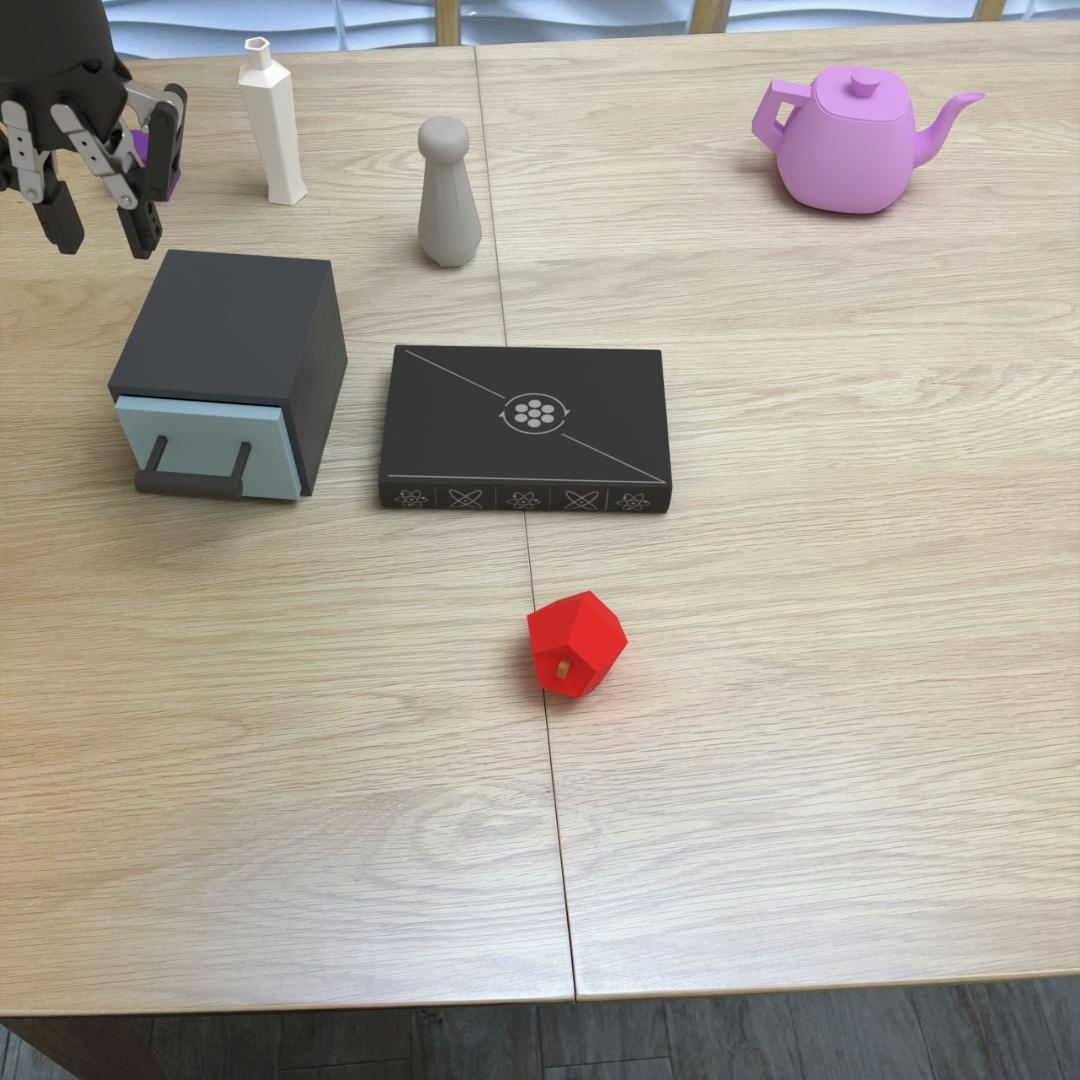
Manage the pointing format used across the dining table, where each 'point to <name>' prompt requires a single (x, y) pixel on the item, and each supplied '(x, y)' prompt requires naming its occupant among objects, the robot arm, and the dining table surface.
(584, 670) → the apple
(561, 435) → the book
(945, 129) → the teapot
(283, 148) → the white tall faceted bottle
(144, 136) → the block
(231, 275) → the dark grey cabinet
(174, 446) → the drawer
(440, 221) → the salt shaker
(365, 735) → the dining table surface
